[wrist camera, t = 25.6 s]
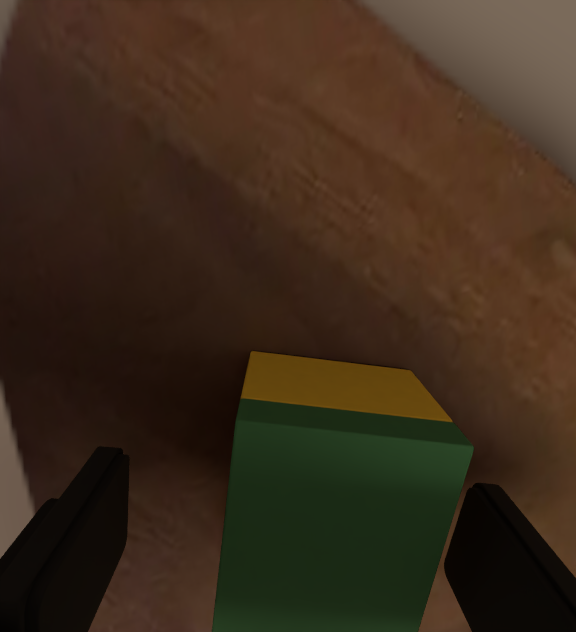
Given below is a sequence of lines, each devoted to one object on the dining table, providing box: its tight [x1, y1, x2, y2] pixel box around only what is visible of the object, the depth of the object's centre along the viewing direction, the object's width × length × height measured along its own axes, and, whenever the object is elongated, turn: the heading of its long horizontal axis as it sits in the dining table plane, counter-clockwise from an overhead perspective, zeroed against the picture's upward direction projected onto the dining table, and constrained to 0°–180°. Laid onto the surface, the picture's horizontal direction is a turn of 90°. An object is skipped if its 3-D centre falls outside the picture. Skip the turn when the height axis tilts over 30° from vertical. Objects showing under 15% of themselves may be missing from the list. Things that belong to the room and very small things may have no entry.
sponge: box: [212, 351, 474, 632], centre depth 10 cm, size 8×5×4 cm, turn 172°
